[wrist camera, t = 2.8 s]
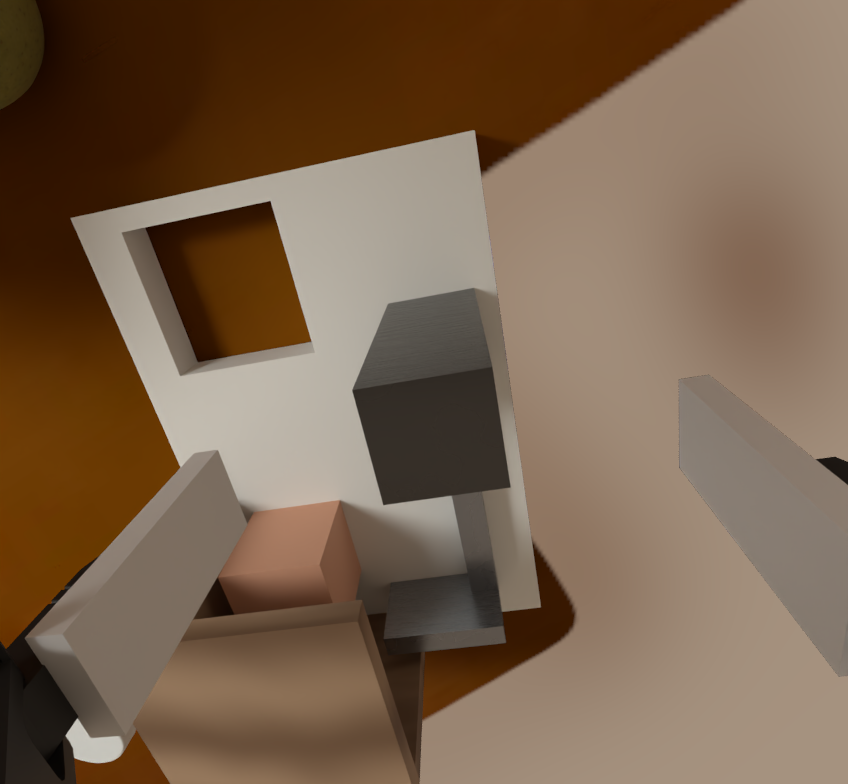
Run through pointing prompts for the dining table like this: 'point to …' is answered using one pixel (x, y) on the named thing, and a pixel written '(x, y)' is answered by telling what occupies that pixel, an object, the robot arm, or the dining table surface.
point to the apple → (19, 48)
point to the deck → (327, 348)
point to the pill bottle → (97, 744)
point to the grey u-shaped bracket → (437, 459)
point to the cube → (292, 560)
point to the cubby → (286, 699)
